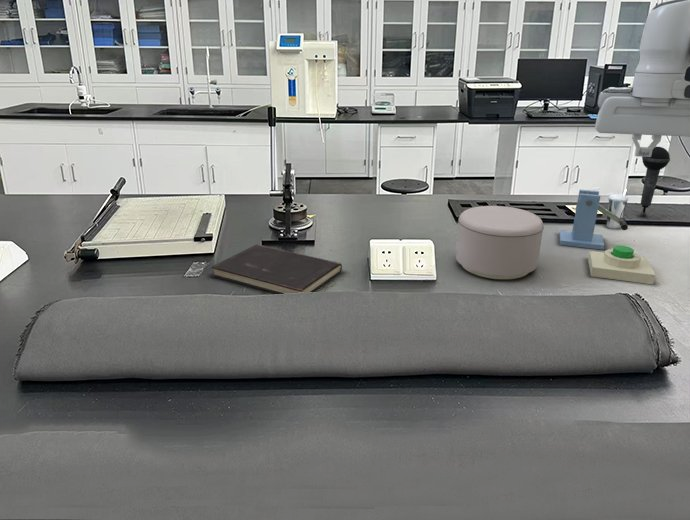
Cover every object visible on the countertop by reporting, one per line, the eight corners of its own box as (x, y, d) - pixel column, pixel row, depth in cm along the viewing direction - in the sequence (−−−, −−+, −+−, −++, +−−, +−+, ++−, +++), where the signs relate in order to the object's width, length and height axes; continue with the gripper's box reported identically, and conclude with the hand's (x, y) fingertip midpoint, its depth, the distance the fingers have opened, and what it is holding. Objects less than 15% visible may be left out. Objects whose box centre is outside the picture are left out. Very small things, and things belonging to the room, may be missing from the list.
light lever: (620, 225, 132) (627, 217, 131) (623, 232, 127) (630, 225, 126) (579, 197, 133) (586, 189, 132) (580, 203, 128) (587, 195, 127)
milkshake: (626, 226, 145) (634, 191, 141) (615, 230, 142) (623, 194, 138) (611, 222, 148) (618, 187, 144) (599, 226, 145) (606, 190, 142)
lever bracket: (601, 239, 136) (610, 190, 131) (603, 249, 129) (614, 199, 124) (559, 234, 139) (567, 186, 134) (559, 244, 132) (568, 195, 127)
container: (535, 287, 109) (543, 234, 105) (448, 275, 115) (452, 223, 110) (538, 256, 125) (545, 208, 120) (461, 246, 131) (465, 200, 126)
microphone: (624, 213, 156) (639, 144, 149) (646, 212, 157) (662, 144, 149) (639, 220, 150) (655, 149, 142) (661, 219, 151) (678, 148, 143)
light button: (631, 254, 117) (632, 246, 116) (633, 260, 113) (635, 253, 113) (611, 251, 118) (612, 244, 117) (612, 258, 115) (614, 250, 114)
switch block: (645, 266, 120) (649, 250, 118) (653, 284, 111) (657, 266, 109) (587, 259, 123) (591, 243, 122) (590, 276, 115) (594, 259, 113)
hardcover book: (301, 300, 104) (300, 290, 103) (212, 276, 114) (211, 266, 113) (342, 271, 116) (342, 262, 116) (258, 252, 127) (258, 243, 126)
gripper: (601, 88, 107) (590, 156, 113) (718, 90, 101) (701, 162, 106) (599, 85, 113) (588, 150, 118) (710, 87, 107) (693, 156, 112)
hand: (642, 156), depth 112 cm, fingers closed
